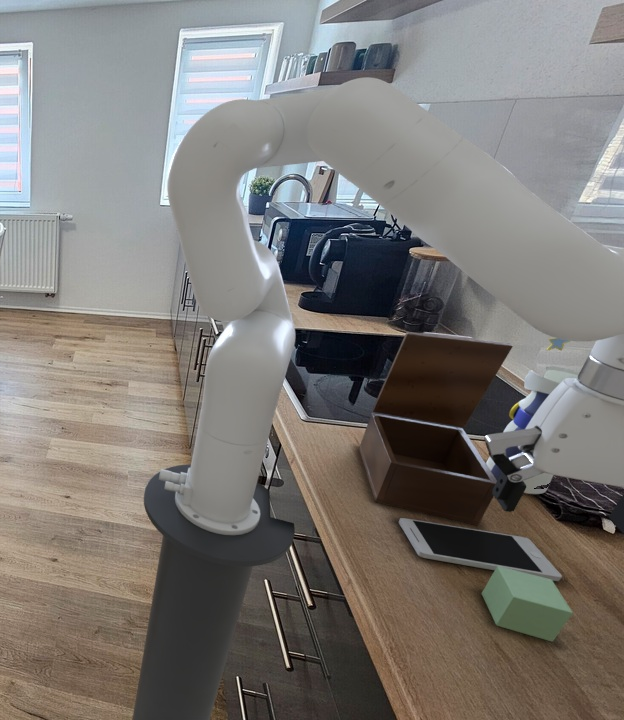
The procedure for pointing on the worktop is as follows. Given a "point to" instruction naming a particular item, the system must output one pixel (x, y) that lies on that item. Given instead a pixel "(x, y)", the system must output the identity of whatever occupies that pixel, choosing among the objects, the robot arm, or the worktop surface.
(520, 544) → the smartphone
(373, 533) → the worktop surface
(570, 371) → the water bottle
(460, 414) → the chest lid
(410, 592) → the worktop surface
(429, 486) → the chest
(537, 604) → the block
